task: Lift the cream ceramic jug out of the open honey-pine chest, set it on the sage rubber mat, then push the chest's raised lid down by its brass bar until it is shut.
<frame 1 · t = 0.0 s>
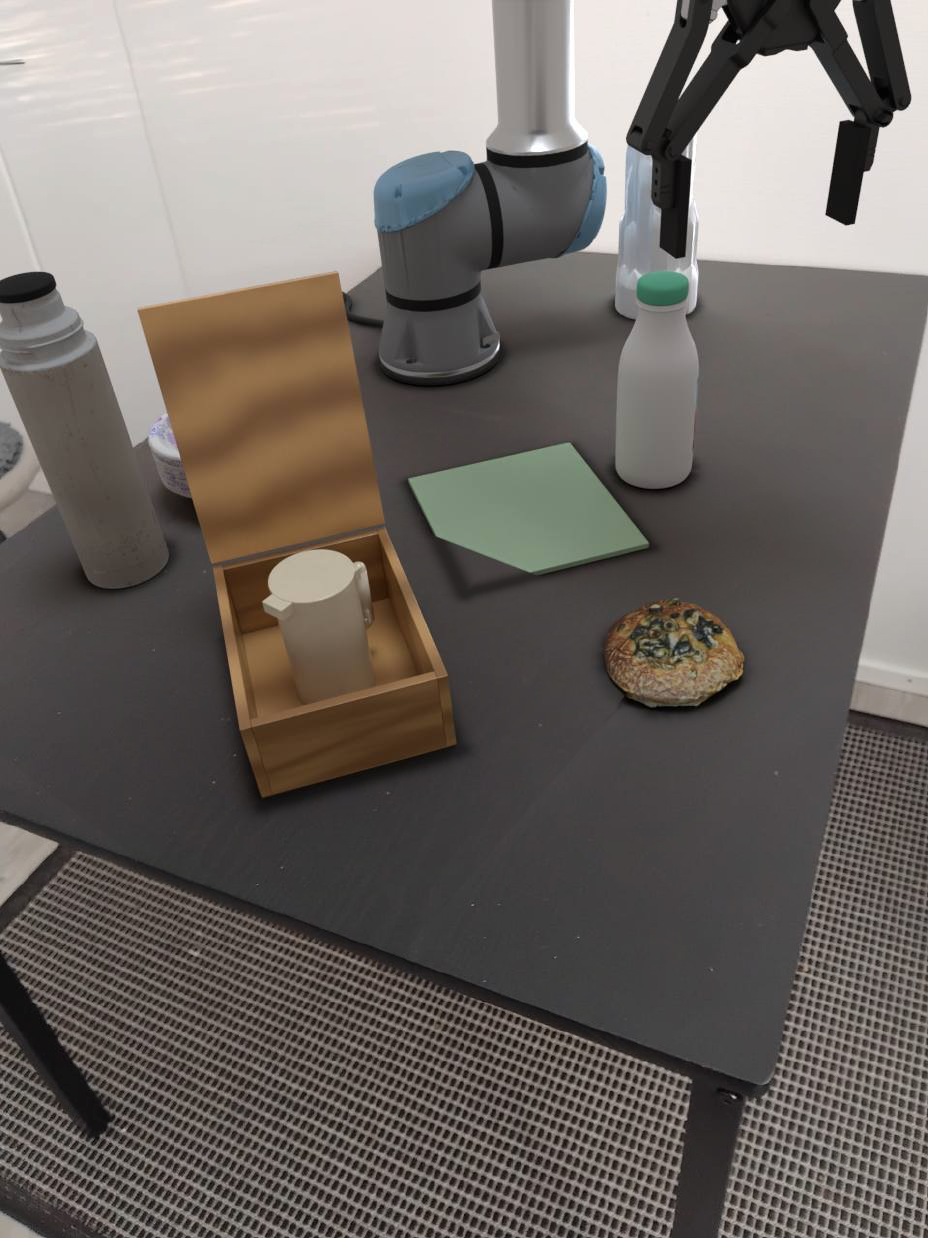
hand: (757, 235, 72), 28 cm above the table, tool pointing down, fingers open, 13 cm apart
decorative vase: (654, 305, 132), on the table
mat: (521, 513, 96), on the table
bread roll: (671, 666, 78), on the table
thermos bottle: (128, 565, 95), on the table
milk bottle: (652, 472, 100), on the table
paper bowls: (239, 487, 105), on the table
chest lid: (268, 416, 78), point 18 cm above the table, hinge at 100.0°
chest: (337, 690, 79), on the table
jug: (335, 683, 79), point 1 cm above the table, touching chest
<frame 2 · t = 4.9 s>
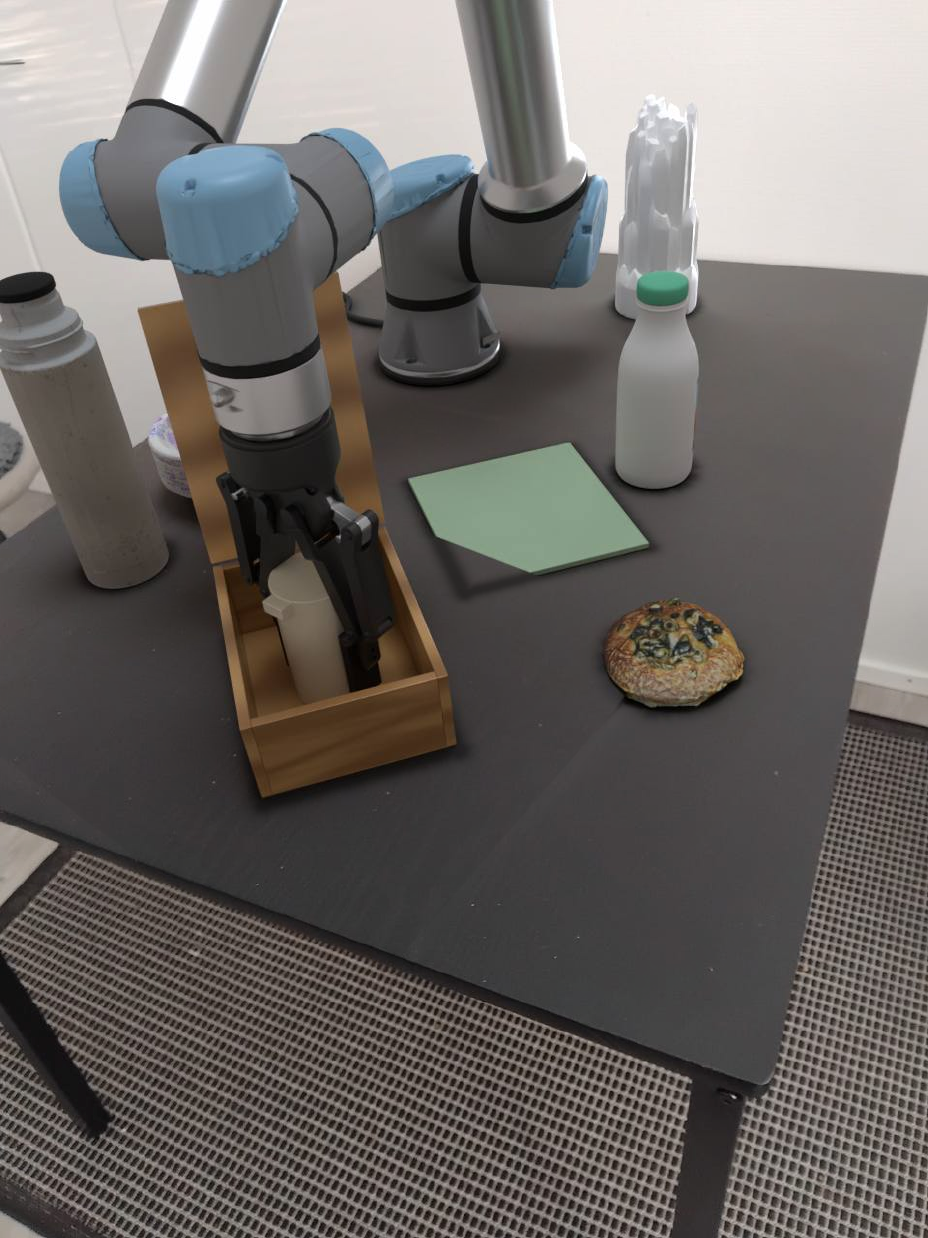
hand: (333, 673, 78), 2 cm above the table, tool pointing down, fingers closed on jug, 6 cm apart
jug: (335, 683, 79), point 1 cm above the table, touching chest, gripper
everything else where it was.
when the fingers open (2 cm above the table, at t = 14.0 s): jug stays where it is, resting on mat.
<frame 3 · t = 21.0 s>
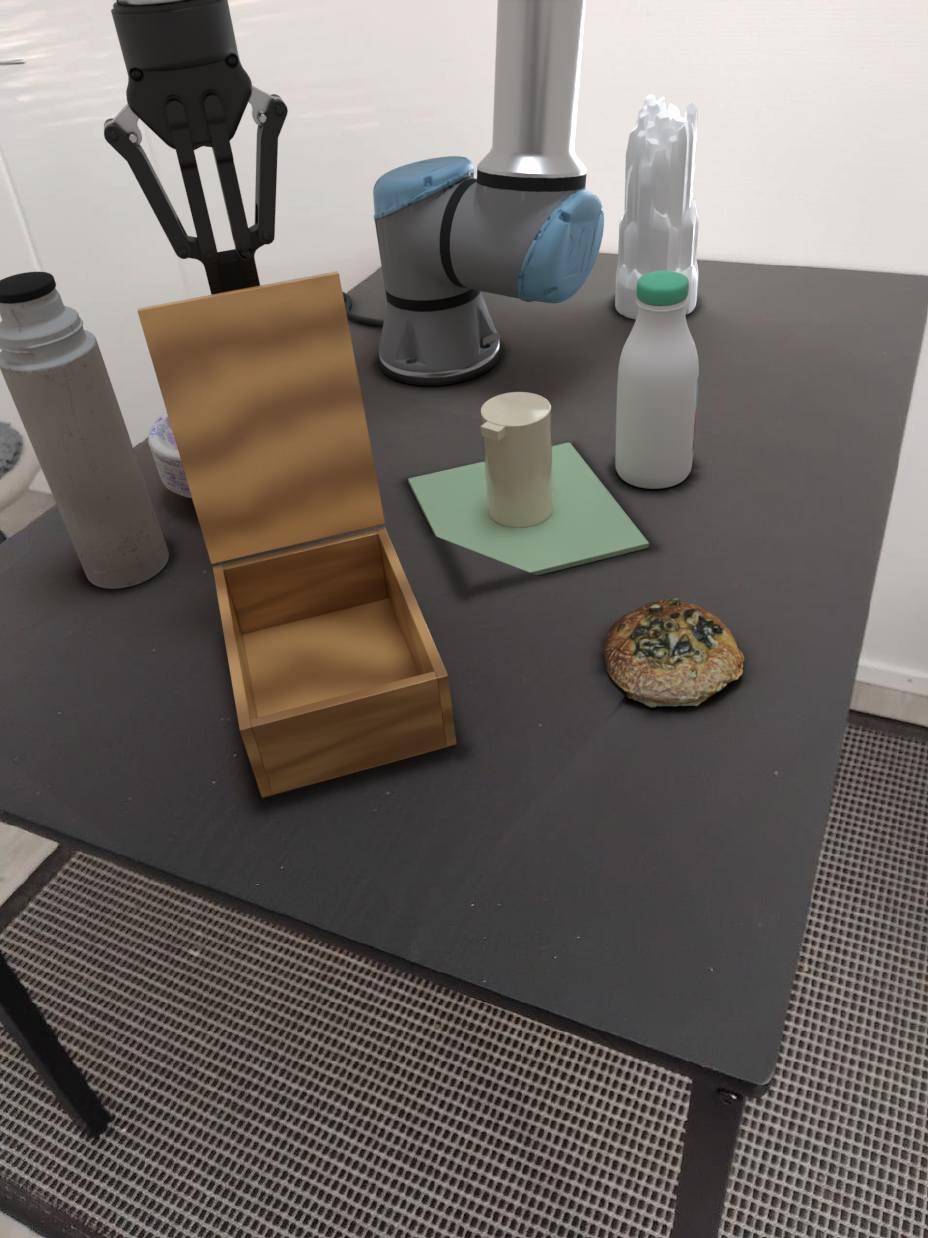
hand: (246, 336, 79), 23 cm above the table, tool pointing down, fingers closed
chest lid: (268, 416, 78), point 18 cm above the table, hinge at 99.3°, touching gripper
jug: (520, 509, 96), point 1 cm above the table, touching mat
everything else where it was.
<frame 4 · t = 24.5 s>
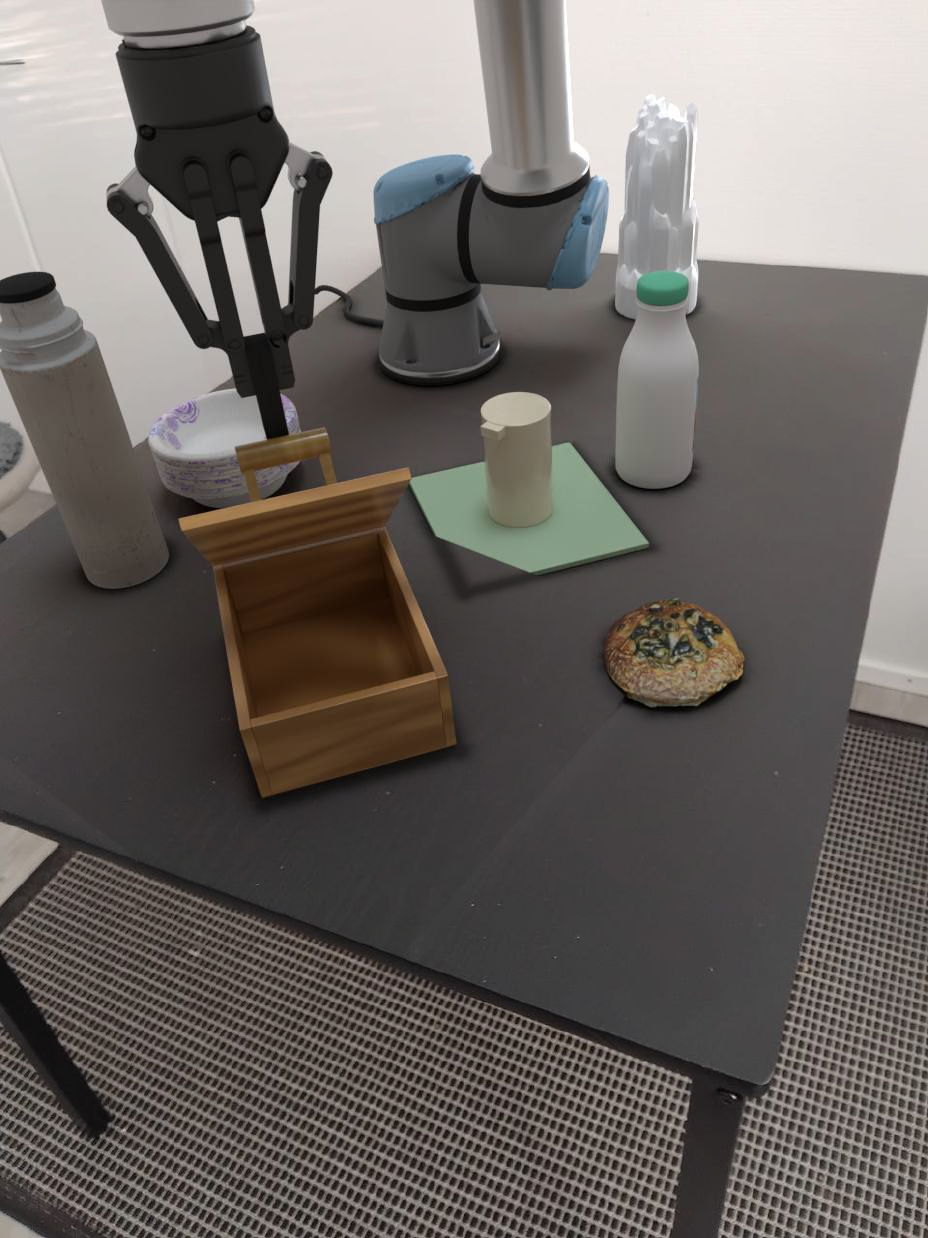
hand: (276, 433, 66), 23 cm above the table, tool pointing down, fingers closed
chest lid: (291, 494, 71), point 17 cm above the table, hinge at 41.4°, touching gripper
everything else where it was.
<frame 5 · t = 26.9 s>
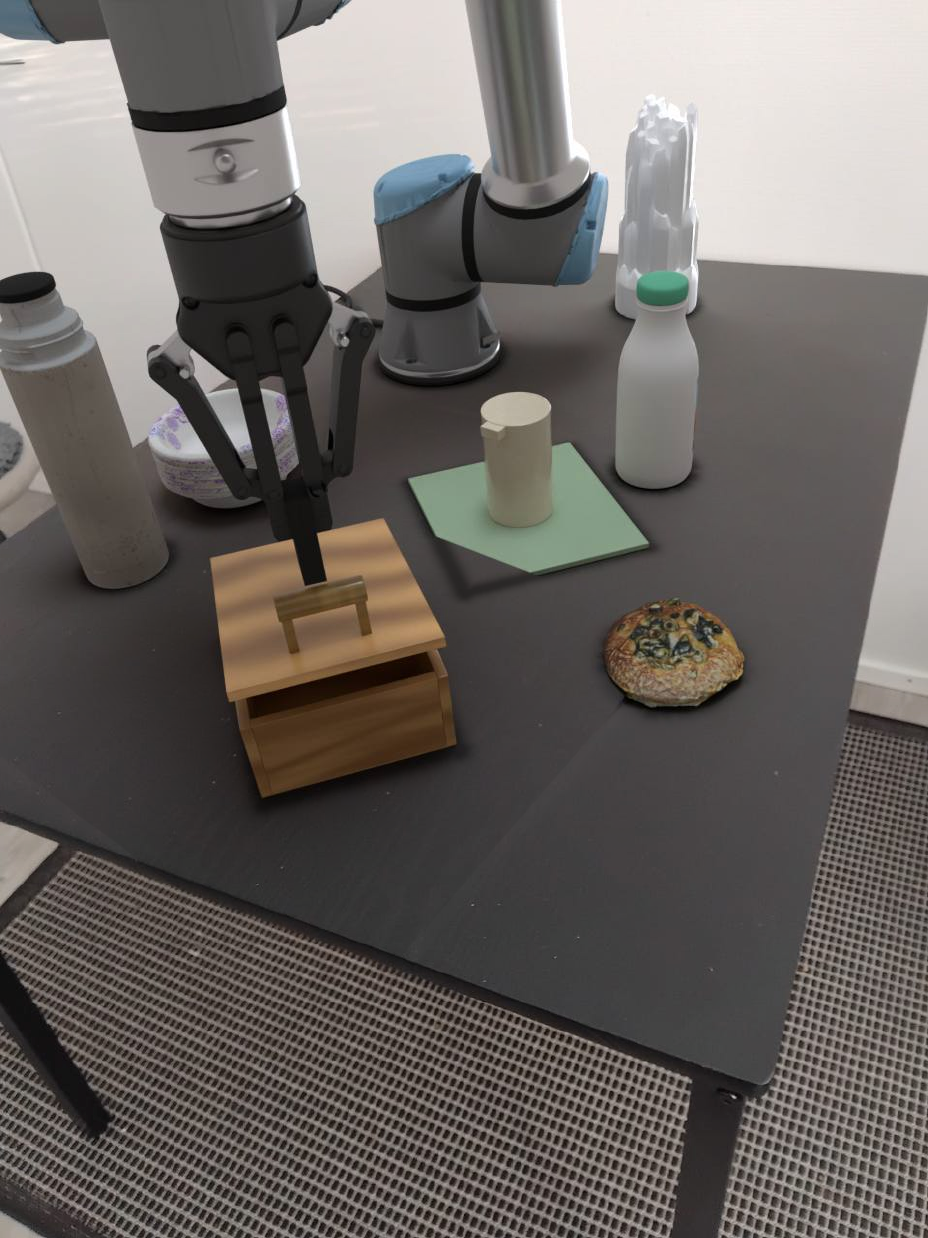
hand: (312, 571, 65), 16 cm above the table, tool pointing down, fingers closed
chest lid: (310, 572, 71), point 12 cm above the table, hinge at 8.9°, touching gripper
everything else where it was.
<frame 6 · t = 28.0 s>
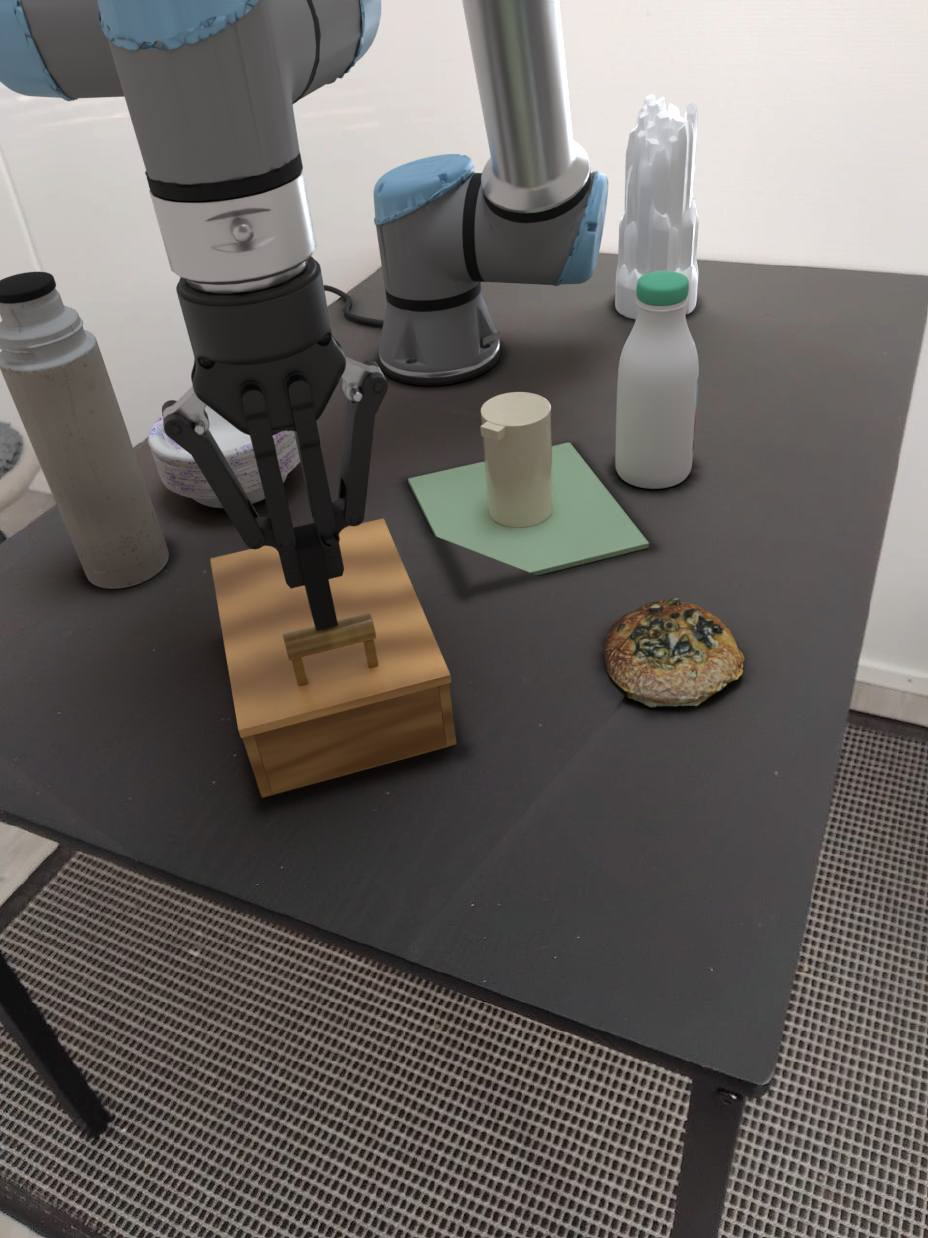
hand: (323, 615, 66), 13 cm above the table, tool pointing down, fingers closed
chest lid: (315, 593, 72), point 10 cm above the table, hinge at -0.1°, touching chest, gripper
everything else where it was.
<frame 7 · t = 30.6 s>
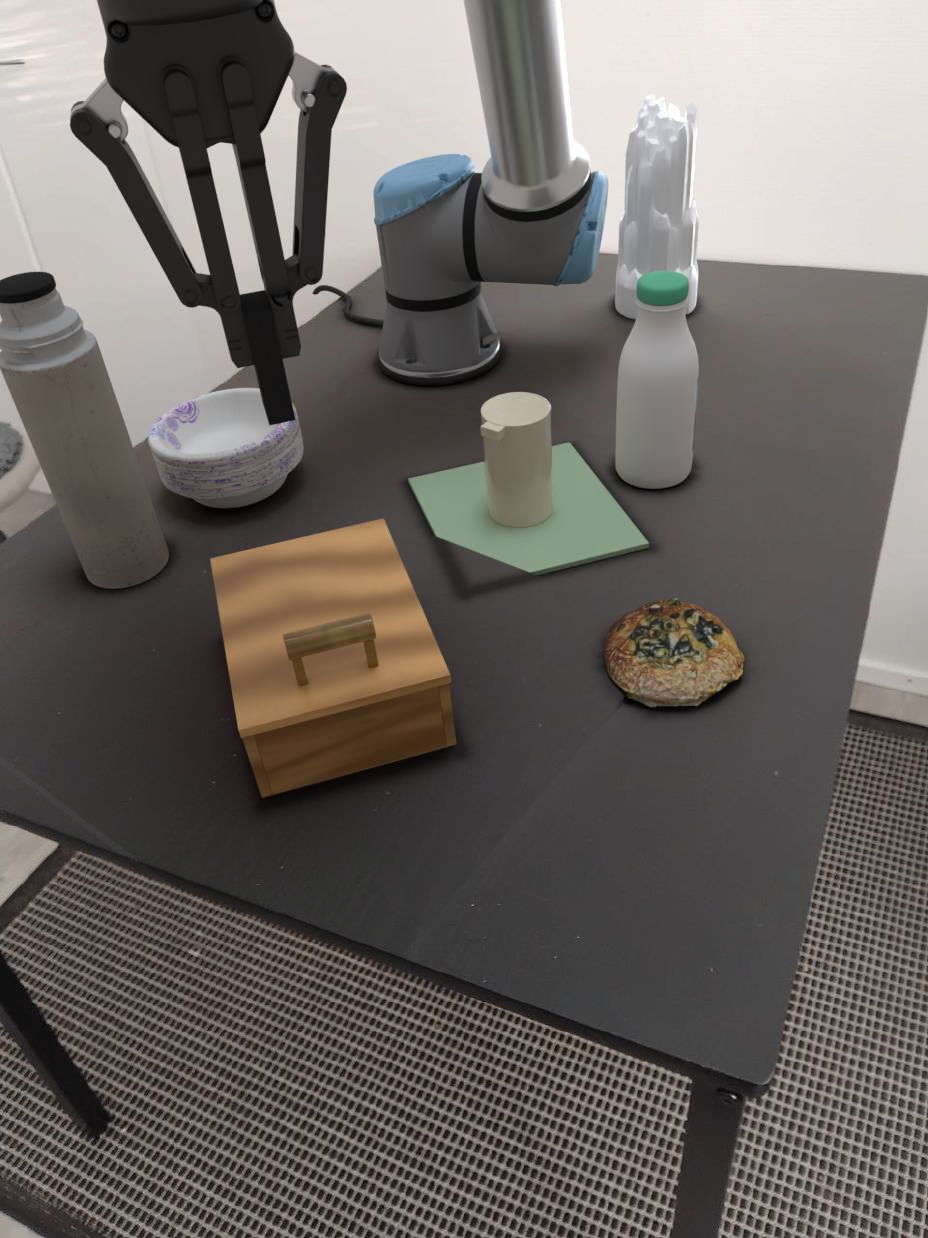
hand: (279, 411, 56), 28 cm above the table, tool pointing down, fingers closed
chest lid: (315, 593, 72), point 10 cm above the table, hinge at -0.1°, touching chest
everything else where it was.
at the end: jug inside the target area on the mat (0.1 cm from its centre), point 0.6 cm above the mat's base; jug tilted 0°; chest lid at +0° (first picture: +100°) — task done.
